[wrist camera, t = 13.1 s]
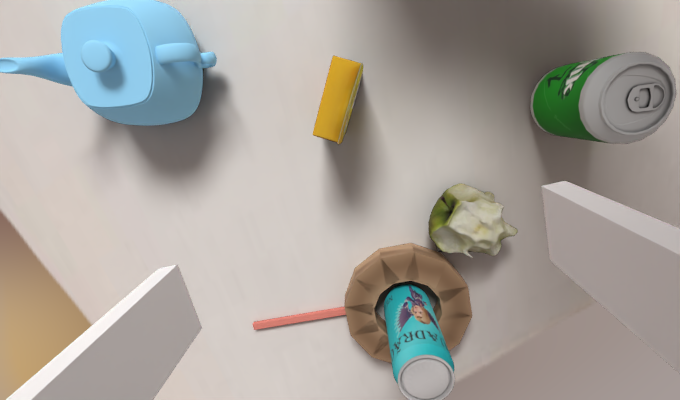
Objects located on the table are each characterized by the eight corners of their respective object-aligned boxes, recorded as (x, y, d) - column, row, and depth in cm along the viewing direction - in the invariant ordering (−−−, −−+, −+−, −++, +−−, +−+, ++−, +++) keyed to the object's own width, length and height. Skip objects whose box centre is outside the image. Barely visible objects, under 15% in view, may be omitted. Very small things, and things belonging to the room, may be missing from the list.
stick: (253, 322, 50) (252, 324, 50) (345, 306, 49) (345, 308, 49) (255, 327, 51) (254, 329, 50) (347, 311, 49) (347, 314, 49)
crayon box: (338, 64, 42) (331, 49, 31) (363, 72, 42) (366, 59, 31) (320, 129, 44) (308, 136, 33) (344, 136, 44) (341, 146, 33)
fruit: (410, 199, 47) (423, 201, 39) (481, 172, 47) (509, 169, 39) (436, 268, 47) (454, 284, 39) (507, 241, 47) (540, 253, 39)
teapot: (-39, -12, 32) (168, -35, 31) (58, 17, 42) (215, 0, 41) (6, 139, 35) (196, 121, 34) (86, 131, 45) (233, 118, 44)
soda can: (594, 130, 43) (683, 139, 31) (526, 139, 43) (589, 151, 32) (595, 61, 41) (691, 43, 29) (525, 70, 42) (591, 56, 30)
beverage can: (428, 279, 48) (460, 354, 33) (426, 319, 49) (455, 408, 35) (383, 278, 48) (395, 353, 34) (382, 318, 50) (393, 406, 35)
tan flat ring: (336, 256, 48) (335, 266, 45) (455, 235, 46) (462, 243, 43) (359, 357, 51) (359, 373, 48) (470, 340, 50) (477, 355, 47)
